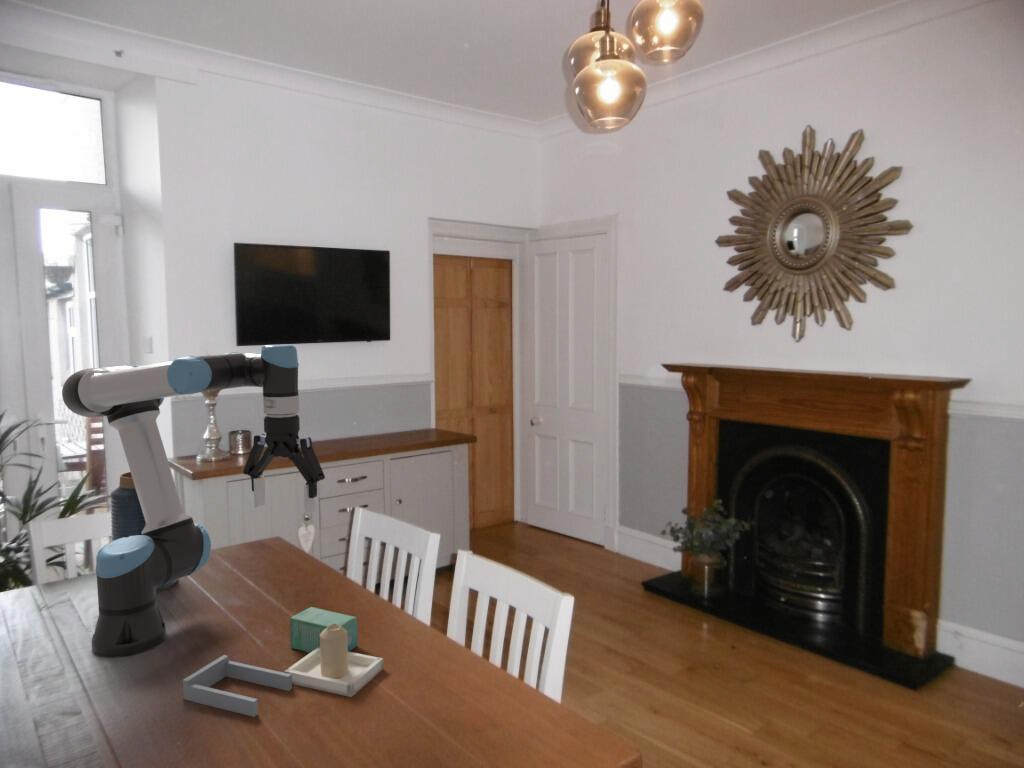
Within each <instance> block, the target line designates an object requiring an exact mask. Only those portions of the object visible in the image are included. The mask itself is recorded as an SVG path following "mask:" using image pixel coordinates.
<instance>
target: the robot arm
mask: <svg viewBox="0 0 1024 768" xmlns="http://www.w3.org/2000/svg"><path fill="white" fill-rule="evenodd" d="M260 350H261V352H260V353H254V352H253V353H252V352H240V351H235V352H234V351H233V352H226V353H223V354H214V355H199V356H198V355H197V356H196V355H188V356H183V357H179V358H175V359H174V360H169V361H164V362H162V361H161V362H159V363H158V362H157V363H151V364H147V365H141V364H139V365H137V364H136V365H134V364H126V365H118V366H107V367H90V368H86V369H85V368H84V369H82V370H78V371H76V372H74V373H73V374H71V375H70V376H69V377H67V378H66V380H65V381H64V384H63V385H62V391H61V396H62V400H63V403H64V405H65V406H66V407H67V409H69V410H70V411H71V412H72V413H74V414H76V415H78V416H81V417H84V418H85V417H86V418H101V417H106V420H107V423H108V426H110V427H112V429H113V428H114V429H115V430H117V431H118V434H119V438H120V441H121V444H122V445H121V446H122V448H123V450H124V455H125V459H126V461H127V465H128V467H129V472H131V475H132V478H133V482H134V485H135V488H136V492H137V495H138V498H139V502H140V505H141V508H142V512H143V515H144V518H145V522H146V525H145V527H144V529H143V531H142V535H134V536H130V537H127V538H125V537H123V538H120V539H117V540H114V541H112V540H111V541H110V542H108V543H107V544H104V546H102V547H101V548H100V549H99V550H98V552H97V554H96V556H95V557H96V559H95V562H96V564H95V570H94V571H95V574H96V587H97V601H98V617H97V619H96V624H95V629H94V633H93V634H92V637H91V651H92V652H93V654H95V655H97V656H101V657H108V658H115V657H125V656H131V655H136V654H139V653H143V652H145V651H147V650H148V651H149V650H151V649H153V648H155V647H157V646H158V645H160V644H161V643H162V642H164V641H165V639H166V637H167V625H166V623H165V621H164V620H163V619H164V618H163V616H162V614H161V612H160V609H159V607H158V605H157V593H156V588H158V587H160V586H162V585H165V584H167V583H170V582H172V581H175V580H177V581H178V580H179V579H182V578H184V577H188V576H191V575H192V574H194V573H195V572H198V571H199V570H201V569H203V567H204V566H205V565H206V564H207V563H208V560H209V558H210V556H211V550H212V549H211V548H212V544H211V543H212V541H211V537H210V535H209V533H208V531H207V530H206V529H205V528H204V527H203V525H201V524H199V523H195V521H194V519H193V516H192V515H190V514H188V513H186V512H185V511H184V509H183V506H182V503H181V500H180V496H179V493H178V489H177V487H176V483H175V480H174V476H173V473H172V470H171V466H170V463H169V460H168V456H167V454H166V450H165V447H164V443H163V440H162V436H161V433H160V430H159V427H158V423H157V418H158V417H159V415H160V414H161V410H160V406H162V404H163V402H164V400H165V398H171V397H176V396H177V397H178V396H182V395H183V396H184V395H193V394H197V393H198V394H199V393H204V392H213V391H218V390H227V389H235V388H244V387H251V388H252V387H253V388H262V401H263V404H262V407H263V414H264V415H265V416H264V417H263V431H264V433H261V434H256V435H254V436H253V442H252V443H253V445H252V448H251V450H250V452H249V455H248V458H247V460H246V463H245V465H244V468H243V471H242V472H243V475H248V476H249V477H250V478H251V482H250V483H251V491H252V492H253V499H254V500H253V501H254V503H253V504H254V508H260V507H263V506H265V505H266V490H265V489H266V485H265V484H266V481H265V476H264V474H263V473H264V472H265V470H266V469H267V468H268V466H269V465H270V463H271V462H272V460H273V459H274V457H275V458H278V457H282V458H288V459H289V461H292V463H293V464H294V466H295V467H296V468H297V470H298V471H299V473H300V474H301V476H302V477H303V479H304V480H305V483H303V503H304V505H303V506H304V514H310V513H312V512H314V511H316V497H317V496H318V482H319V481H322V480H325V478H326V475H325V474H324V471H323V468H322V466H321V464H320V461H319V459H318V457H317V455H316V453H315V450H314V448H313V442H312V441H313V440H312V438H311V437H309V436H308V437H305V438H300V437H299V433H300V432H299V431H300V430H301V429H300V428H301V427H300V425H301V424H300V415H298V414H299V413H300V397H299V396H300V395H299V358H298V349H297V348H296V346H294V345H293V344H266V345H265V344H264V345H263V346H261V349H260ZM265 445H266V446H267V448H265ZM264 449H265V450H264ZM263 450H264V452H263ZM262 454H263V455H262Z"/></svg>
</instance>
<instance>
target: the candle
mask: <svg viewBox="0 0 1024 768" xmlns="http://www.w3.org/2000/svg"><path fill="white" fill-rule="evenodd" d="M320 658H321V675H322V676H323V677H328V678H332V679H337V678H340V677H343V676H345V675H346V674H347V672H348V647H347V631H346V630H345V629H344V628H342V627H341V626H338V625H337V624H332V625H330V626H329V627H327V628H326V629H324V630H323V631H322V632H321V633H320Z"/></svg>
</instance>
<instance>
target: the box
mask: <svg viewBox="0 0 1024 768" xmlns="http://www.w3.org/2000/svg"><path fill="white" fill-rule="evenodd" d="M358 623H359V622H358V618H357V616H353V615H350V614H346V613H345V614H344V613H339V612H335V611H331V610H325V609H321V608H319V607H313V606H310V607H309V608H306V609H304V610H302V611H300V612H299V613H297V614H295V615H292V616H291V617H290V648H291V649H293V650H294V649H295V650H297V651H301V652H306V653H308V654H309V653H311V652H312V651H313V650H315V649H316V648H318V647H319V646H320V633H321V632H322V631H323V630H324V629H326V628H327V627H329V626H330V625H332V624H337V625H338V626H341V627H342V628H344V629H345V630H346V631H347V647H348V652H352V651H353V649H355V648H357V645H358V638H359V637H358V636H359V629H358V628H359V625H358Z"/></svg>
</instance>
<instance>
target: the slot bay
mask: <svg viewBox="0 0 1024 768" xmlns="http://www.w3.org/2000/svg"><path fill="white" fill-rule="evenodd" d="M229 659H230V658H229V655H226V654H223V655H222V656H219V657H218V658H216V659H215V660H213V661H212V662H210V663H208V664H207V665H205V666H204V667H201V668H200V669H199V670H197V671H196V672H193V673H192V674H190V675H189V676H187V677H185V678H184V679H183V680H182V689H183V690H182V691H183V700H186V701H190V702H194V703H197V704H201V705H205V706H209V707H213V708H218V709H220V710H224V711H229V712H233V713H238V714H241V715H244V716H245V715H246V716H249V717H252V718H256V716H258V715H259V704H258V703H259V702H258V698H255V697H250V696H246V695H242V694H237V693H234V692H229V691H225V690H220V689H217V688H214V687H213V688H212V687H211V686H213V685H215V684H217V683H218V682H219V681H221V680H223V679H224V678H226V677H227V678H230V679H236V680H240V681H244V682H249V683H253V684H257V685H261V686H265V687H270V688H275V689H280V690H283V691H287V692H290V691H291V690H292V689H293V684H292V674H288V673H284V671H283V672H282V671H278V670H273V669H270V668H265V667H260V666H255V665H251V664H247V663H241V662H237V661H233V660H229Z"/></svg>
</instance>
